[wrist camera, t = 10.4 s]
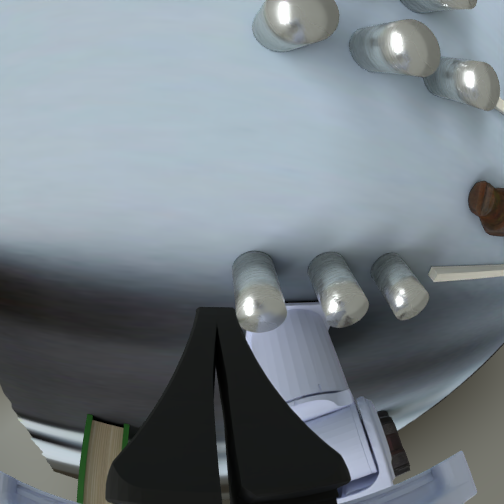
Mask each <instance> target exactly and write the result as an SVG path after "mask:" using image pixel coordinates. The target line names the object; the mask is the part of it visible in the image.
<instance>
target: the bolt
mask: <svg viewBox="0 0 504 504" xmlns="http://www.w3.org/2000/svg"><path fill="white" fill-rule="evenodd" d="M468 202H469V208H470V210H471V212H472V213H474V214H475V215H477V216H479V217H480V220H481V223H482V225H483V228H484V230H485V232H486V233H488V234H489V235H493V236H504V188H494V187H493V186H492V185H491V184H490V183H487V182H486V181H480V182H478V183H476V184H475V185H474V187H473V188H472V190H471V191H470V194H469V199H468Z"/></svg>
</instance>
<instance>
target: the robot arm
mask: <svg viewBox="0 0 504 504" xmlns="http://www.w3.org/2000/svg"><path fill="white" fill-rule="evenodd" d="M285 305H286V309H287V317H286V319H285V321H284V322H283V323H282V324H281V325H280V326H279V327H277V328H275V329H273V330H271V331H268V332H263V333H254V332H249V331H247V330H246V338H245V336H244V334H243V331H242V329H241V327H240V324H239V321H238V319H237V315H236V312H235V309H233V308H230V307H199V308H198V309H196V316H195V320H194V324H193V328H192V331H191V334H190V337H189V339H188V342H187V344H186V347H185V350H184V352H183V355H182V357H181V359H180V361H179V363H178V365H177V368H176V370H175V372H174V374H173V376H172V378H171V380H170V382H169V384H168V385H167V387H166V389H165V391H164V393H163V394H162V396H161V398H160V399H159V401H158V402H157V404H156V406H155V407H154V409H153V410H152V412H151V413H150V415H149V416H148V418H147V419H146V421H145V422H144V423H143V425H142V426H141V427H140V429H139V430H138V431H137V433H136V434H135V436H134V437H133V438H132V439H131V441H130V442H129V443H128V444H127V445H126V446H125V448H124V449H123V450H122V451H121V452H120V453H119V454H118V456H117V457H116V458H115V459H114V460H113V462H112V464H111V466H110V469H109V472H108V475H107V480H106V490H105V499H106V501H107V502H109V503H112V504H222V497H221V488H220V478H219V468H218V457H217V445H216V432H215V417H214V386H215V368H216V371H217V378H218V385H219V391H220V398H221V404H222V410H223V417H224V427H225V442H226V455H227V468H228V481H229V493H230V504H463V503H465V502H466V501H467V500H469V499H470V498H472V497H473V496H474V495H476V493H477V490H476V487H475V484H474V481H473V478H472V475H471V472H470V469H469V467H468V464H467V461H466V459H465V456H464V454H463V452H462V451H460V452H458V453H456V454H455V455H453V456H451V457H449V458H448V459H446V460H444V461H442V462H440V463H439V464H437V465H435V466H433V467H432V468H430V469H428V470H426V471H424V472H422V473H420V474H418V475H416V476H414V477H412V478H410V479H408V480H405V481H403V482H401V483H398V484H396V485H393V480H394V478H395V474H394V471H393V467H392V464H391V461H392V457H391V453H390V449H389V446H388V443H387V440H386V437H385V434H384V431H383V428H382V425H381V422H380V419H379V417H378V414H377V412H376V409H375V407H374V404H373V402H372V401H371V400H369V399H365V398H364V397H363V396H362V397H359V398H357V399H356V400H357V403H358V406H359V409H360V410H359V411H358V408H357V406H356V403H355V401H354V398H353V396H352V393H351V391H350V389H349V387H348V384H347V382H346V379H345V376H344V373H343V370H342V368H341V365H340V362H339V360H338V357H337V354H336V351H335V349H334V346H333V343H332V341H331V338H330V335H329V333H328V330H329V328H330V325H329V324H328V323H327V321H326V318H325V316H324V313H323V311H322V308H321V306H320V303H319V302H305V303H285ZM359 412H360V414H359ZM360 415H361V417H360ZM361 418H362V420H361ZM362 421H363V423H362ZM371 449H372V450H371ZM372 451H373V453H372ZM0 504H80V503H77V502H73V501H70V500H67V499H64V498H61V497H58V496H55V495H52V494H49V493H47V492H44V491H41V490H39V489H37V488H34V487H32V486H30V485H27V484H25V483H23V482H21V481H19V480H16V479H15V478H13V477H11V476H9V475H7V474H5V473H3V472H1V471H0Z"/></svg>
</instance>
